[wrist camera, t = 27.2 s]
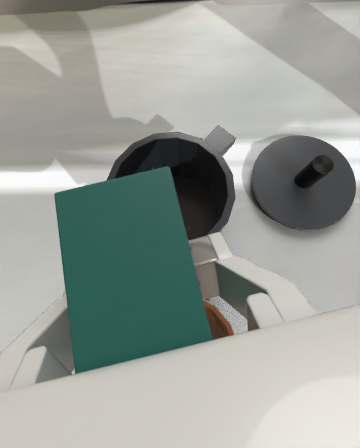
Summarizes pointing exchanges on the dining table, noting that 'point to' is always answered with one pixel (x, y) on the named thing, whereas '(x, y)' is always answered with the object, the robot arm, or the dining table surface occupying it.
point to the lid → (303, 183)
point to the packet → (128, 270)
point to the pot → (188, 175)
